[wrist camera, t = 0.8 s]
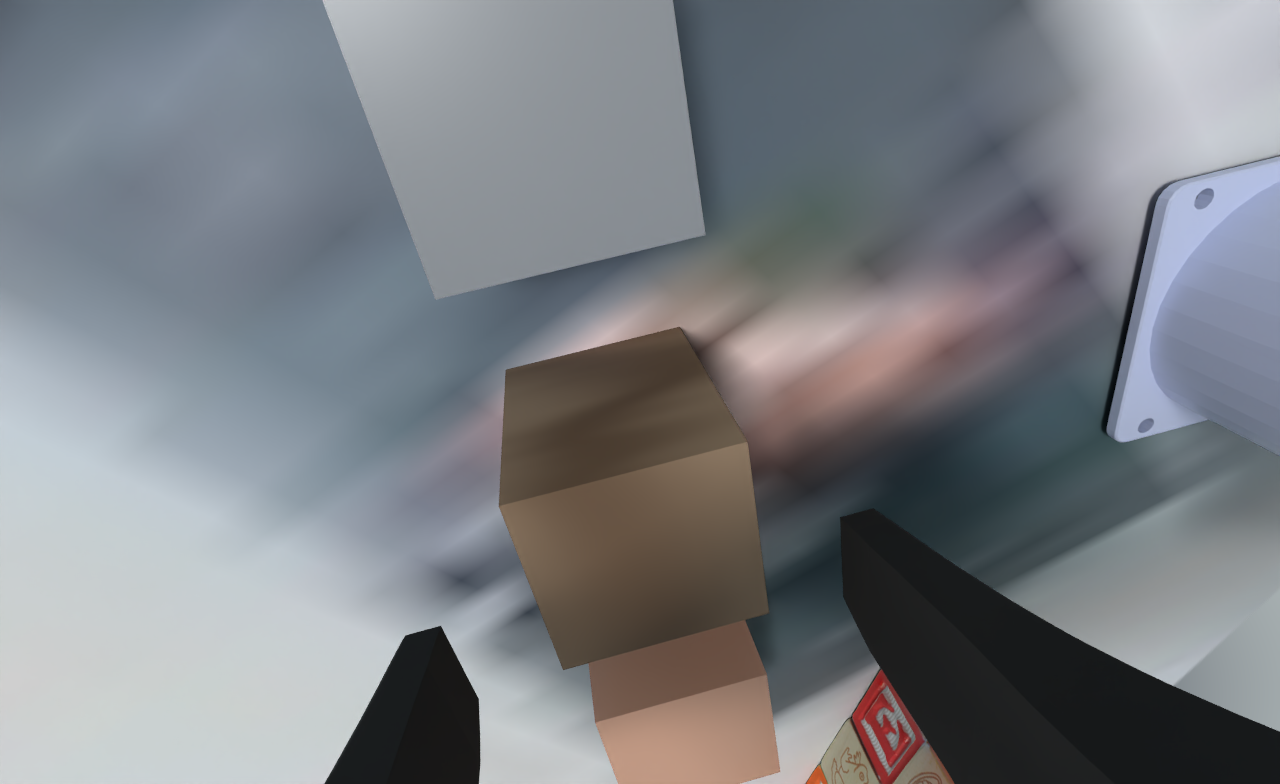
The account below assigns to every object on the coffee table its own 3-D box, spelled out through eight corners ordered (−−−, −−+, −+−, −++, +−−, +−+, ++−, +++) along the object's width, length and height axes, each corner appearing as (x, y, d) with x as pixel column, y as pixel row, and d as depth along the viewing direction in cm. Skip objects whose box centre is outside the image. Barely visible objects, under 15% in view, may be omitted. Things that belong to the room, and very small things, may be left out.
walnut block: (679, 326, 16) (747, 442, 11) (703, 466, 18) (769, 613, 13) (505, 369, 16) (498, 506, 11) (551, 505, 18) (563, 669, 13)
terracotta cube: (718, 552, 20) (766, 674, 16) (734, 645, 22) (780, 771, 18) (580, 589, 19) (595, 723, 16) (610, 679, 22) (630, 815, 18)
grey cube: (613, -52, 12) (657, -106, 8) (654, 186, 14) (705, 234, 10) (380, -2, 12) (309, -34, 8) (460, 232, 14) (435, 299, 10)
